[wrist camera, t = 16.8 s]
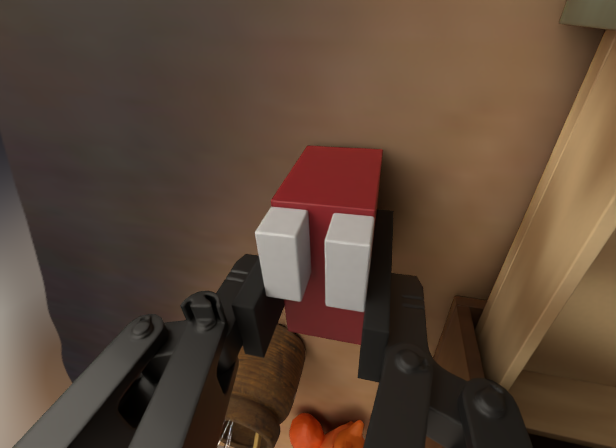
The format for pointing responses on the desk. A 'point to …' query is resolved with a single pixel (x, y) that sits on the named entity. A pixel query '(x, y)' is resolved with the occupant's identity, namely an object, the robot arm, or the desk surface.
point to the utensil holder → (264, 392)
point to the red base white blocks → (322, 241)
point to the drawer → (565, 269)
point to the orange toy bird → (315, 444)
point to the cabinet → (472, 356)
